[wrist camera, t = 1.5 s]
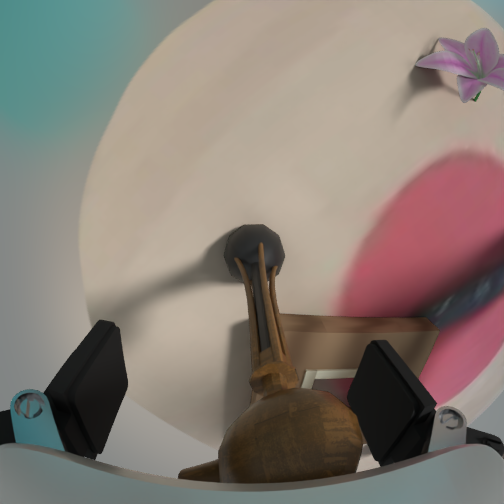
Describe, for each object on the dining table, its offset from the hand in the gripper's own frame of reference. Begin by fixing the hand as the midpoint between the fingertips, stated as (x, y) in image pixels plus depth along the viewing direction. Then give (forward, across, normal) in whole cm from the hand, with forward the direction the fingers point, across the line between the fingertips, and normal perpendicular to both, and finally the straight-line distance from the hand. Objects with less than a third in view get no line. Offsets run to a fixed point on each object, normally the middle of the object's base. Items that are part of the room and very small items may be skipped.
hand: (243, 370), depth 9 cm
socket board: (+14, -12, +14) cm, 23 cm away
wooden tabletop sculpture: (+14, -1, 0) cm, 14 cm away
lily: (+14, -20, -22) cm, 33 cm away
